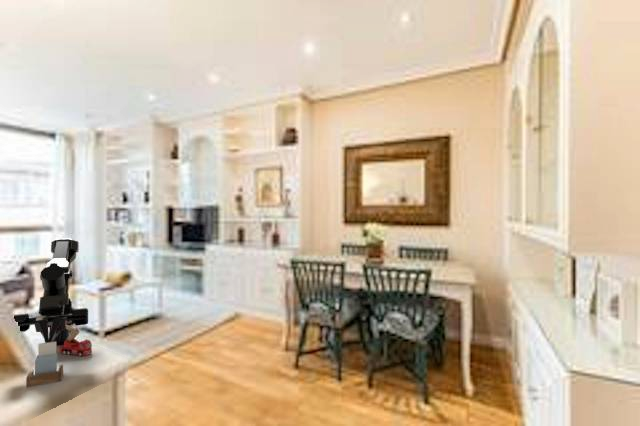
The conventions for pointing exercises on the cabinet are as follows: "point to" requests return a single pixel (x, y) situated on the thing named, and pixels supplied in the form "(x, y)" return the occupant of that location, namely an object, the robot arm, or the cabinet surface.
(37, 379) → the dock
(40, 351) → the block on wooden base
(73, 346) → the toy fire truck
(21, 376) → the cabinet surface
